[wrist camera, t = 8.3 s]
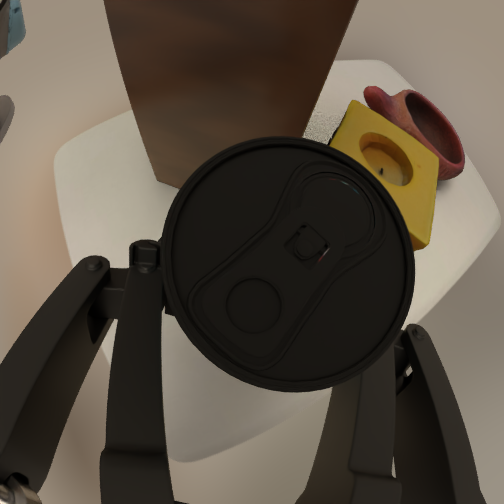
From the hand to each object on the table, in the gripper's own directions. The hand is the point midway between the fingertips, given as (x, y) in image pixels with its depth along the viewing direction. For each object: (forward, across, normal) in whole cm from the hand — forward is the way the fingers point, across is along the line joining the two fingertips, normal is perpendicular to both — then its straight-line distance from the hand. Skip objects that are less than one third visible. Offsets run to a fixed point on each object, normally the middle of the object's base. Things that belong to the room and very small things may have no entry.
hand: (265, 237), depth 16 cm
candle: (+12, +8, -1) cm, 15 cm away
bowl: (+21, +18, +8) cm, 29 cm away
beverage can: (+1, 0, -6) cm, 7 cm away
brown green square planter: (+14, -4, +1) cm, 15 cm away
